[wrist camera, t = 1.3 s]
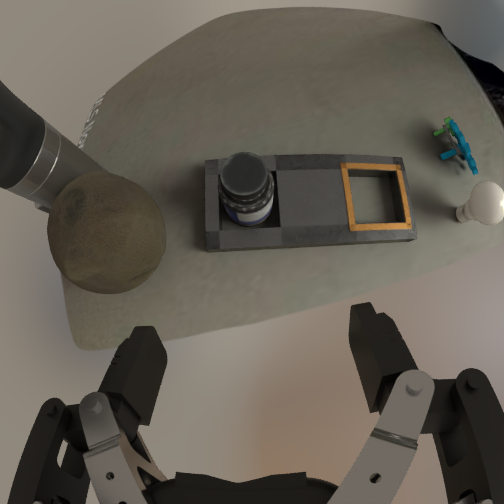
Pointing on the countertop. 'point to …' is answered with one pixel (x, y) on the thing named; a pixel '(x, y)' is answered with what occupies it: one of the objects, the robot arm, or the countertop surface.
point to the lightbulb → (483, 204)
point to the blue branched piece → (461, 146)
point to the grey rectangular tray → (314, 204)
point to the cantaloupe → (106, 233)
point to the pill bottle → (246, 189)
